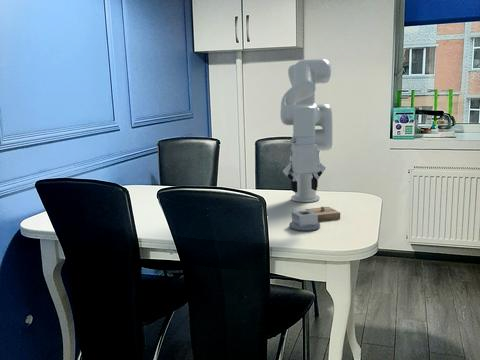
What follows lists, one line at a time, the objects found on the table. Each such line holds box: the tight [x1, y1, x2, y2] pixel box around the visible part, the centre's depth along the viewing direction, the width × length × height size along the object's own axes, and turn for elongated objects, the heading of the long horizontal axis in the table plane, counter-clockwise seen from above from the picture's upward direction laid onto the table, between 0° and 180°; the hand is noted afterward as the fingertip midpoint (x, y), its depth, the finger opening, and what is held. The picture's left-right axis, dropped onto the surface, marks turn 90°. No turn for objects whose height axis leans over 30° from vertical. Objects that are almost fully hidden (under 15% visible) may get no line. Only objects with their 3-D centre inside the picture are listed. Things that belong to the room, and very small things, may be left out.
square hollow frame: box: [291, 209, 319, 227], centre depth 175 cm, size 7×7×4 cm
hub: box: [289, 221, 321, 232], centre depth 175 cm, size 11×11×4 cm
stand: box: [305, 206, 341, 222], centre depth 187 cm, size 10×10×4 cm
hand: (304, 190), depth 172 cm, fingers open, 6 cm apart
